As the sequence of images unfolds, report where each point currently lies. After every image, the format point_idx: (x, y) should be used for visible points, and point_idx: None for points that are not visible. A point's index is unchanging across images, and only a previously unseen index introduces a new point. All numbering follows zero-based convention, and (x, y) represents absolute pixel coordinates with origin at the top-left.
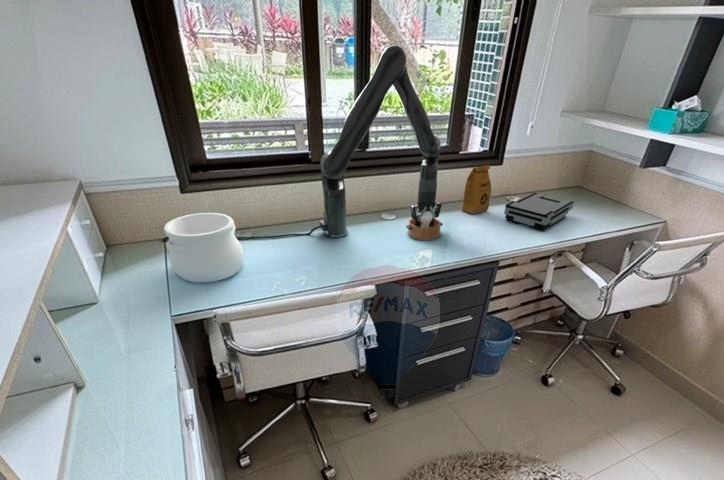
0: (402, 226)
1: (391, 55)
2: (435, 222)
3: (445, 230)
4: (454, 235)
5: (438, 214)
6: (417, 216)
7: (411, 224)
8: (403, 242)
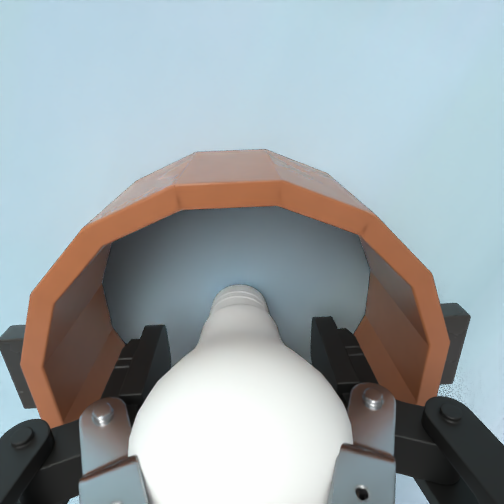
0: (67, 7)
1: None
2: (409, 318)
3: (477, 271)
4: (466, 375)
5: (458, 497)
6: (105, 451)
7: (41, 407)
8: (10, 394)
